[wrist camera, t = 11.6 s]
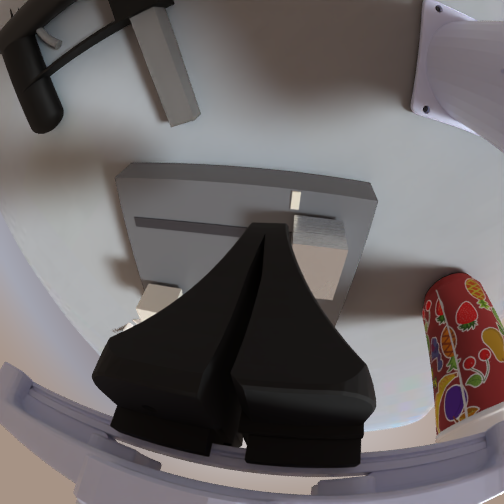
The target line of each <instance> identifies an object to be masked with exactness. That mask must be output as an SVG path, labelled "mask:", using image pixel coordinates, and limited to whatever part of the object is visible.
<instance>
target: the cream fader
mask: <svg viewBox="0 0 504 504" xmlns="http://www.w3.org/2000/svg"><path fill="white" fill-rule="evenodd" d="M182 295H183V293H182V289H179V288H173V287H167V286H161V285H155V284H148V286H147V288H146V290H145V291H144V293H143V295H142V297H141V299H140V301H139V303H138V305H137V307H136V310H137V312H138V315H139V317H140V320H141V322H142V321H144V320H146V319H148V318H149V317H151V316H153V315H154V314H156V313H157V312H159V311H161V310H162V309H164V308H165V307H167V306H168V305H170V304H171V303H172V302H174V301H175V300H176V299H178V298H179V297H181V296H182Z"/></svg>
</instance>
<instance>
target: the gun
mask: <svg viewBox="0 0 504 504" xmlns="http://www.w3.org/2000/svg"><path fill="white" fill-rule="evenodd" d="M74 1H75V0H28V1H27V2H26V3H25V4H24V5H23V6H22V7H21V8H20V9H19V8H18V11H17V13H16V14H15V15H14V16H13V14H12V11H11V9H10V12H11V19H10V20H9V21H8V22H7V23H6V25H5V26H4V27H3V28H2V29H1V30H0V54H2V56H3V59H4V62H5V65H6V68H7V70H8V73H9V76H10V79H11V81H12V84H13V87H14V89H15V92H16V94H17V97H18V99H19V102H20V104H21V106H22V109H23V111H24V113H25V116H26V118H27V120H28V122H29V125H30V127H31V129H32V130H33V131H34V132H35V133H38V134H44V133H47V132H49V131H51V130H53V129H54V128H55V127H56V126H57V125H58V124H59V123H60V121H61V119H62V117H63V107H62V105H61V102H60V100H59V98H58V95H57V93H56V91H55V88H54V86H53V83H52V81H51V78H50V76H51V75H52V74H53V73H55V72H56V71H57V70H59V69H60V68H61V67H63V66H64V65H65V64H67V63H68V62H70V61H71V60H72V59H74V58H75V57H77V56H78V55H80V54H81V53H83V52H84V51H86V50H87V49H89V48H90V47H92V46H93V45H95V44H97V43H98V42H100V41H101V40H103V39H105V38H106V37H108V36H110V35H112V34H113V33H115V32H117V31H119V30H120V29H122V28H124V27H126V26H128V25H130V24H132V27H133V29H134V32H135V35H136V38H137V40H138V43H139V46H140V48H141V51H142V54H143V56H144V59H145V62H146V64H147V67H148V69H149V72H150V75H151V77H152V80H153V82H154V85H155V88H156V90H157V93H158V95H159V98H160V100H161V103H162V106H163V108H164V111H165V113H166V116H167V118H168V121H169V123H170V126H171V127H174V126H177V125H180V124H183V123H187V122H190V121H193V120H195V119H196V118H197V117H198V116H199V115H200V114H201V113H200V110H199V107H198V104H197V101H196V98H195V95H194V92H193V89H192V86H191V83H190V80H189V77H188V74H187V71H186V68H185V65H184V62H183V59H182V55H181V52H180V49H179V46H178V43H177V41H176V38H175V35H174V32H173V29H172V27H171V24H170V21H169V18H168V15H167V13H166V10H165V8H167V7H169V6H171V5H174V1H173V0H108V1H109V4H110V7H111V9H112V12H113V15H114V18H115V21H114V22H112V23H110V24H109V25H107V26H105V27H104V28H102V29H100V30H99V31H97V32H96V33H94V34H92V35H91V36H89V37H88V38H86V39H85V40H83V41H82V42H80V43H79V44H78V45H76V46H75V47H73V48H72V49H71V50H69V51H68V52H66V53H65V54H64V55H62V56H61V57H60V58H59V59H57V60H56V61H55V62H53V63H52V64H51V65H50V66H48V67H47V68H46V65H45V63H44V60H43V57H42V54H41V52H40V49H39V46H38V43H37V40H36V37H35V33H37V34H38V35H39V37H40V38H41V39H42V40H43V41H44V42H45V43H47V44H48V45H50V46H52V47H54V48H56V49H58V48H59V47H60V46H61V44H62V41H60V40H58V39H56V38H54V37H52V36H51V35H49V34H48V33H47V32H46V31H45V30H44V28H43V26H44V25H45V24H47V23H48V22H49V21H50V20H51V19H53V18H54V17H55V16H56V15H57V14H59V13H60V12H61V11H62V10H64V9H65V8H66V7H67V6H69V5H70V4H71V3H73V2H74Z"/></svg>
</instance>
